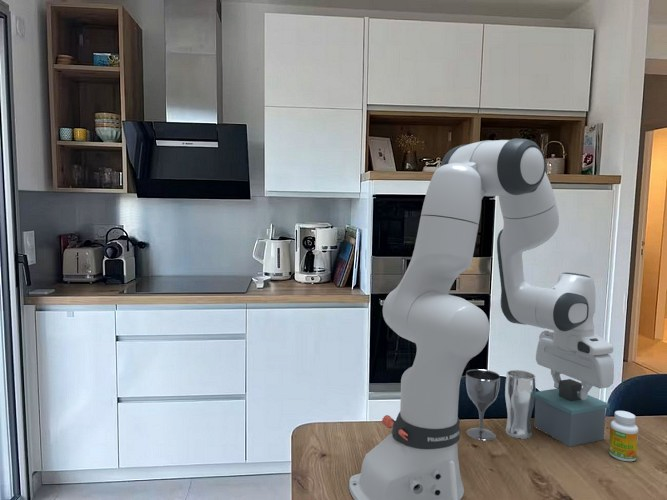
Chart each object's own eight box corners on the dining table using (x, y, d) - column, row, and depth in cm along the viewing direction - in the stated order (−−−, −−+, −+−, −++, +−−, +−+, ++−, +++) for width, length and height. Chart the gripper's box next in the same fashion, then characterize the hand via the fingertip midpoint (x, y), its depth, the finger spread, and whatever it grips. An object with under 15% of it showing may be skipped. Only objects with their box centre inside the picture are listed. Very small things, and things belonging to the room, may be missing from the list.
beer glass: (536, 441, 113) (539, 380, 112) (505, 438, 114) (508, 377, 113) (530, 428, 120) (532, 370, 119) (501, 426, 121) (503, 368, 120)
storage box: (569, 446, 110) (571, 413, 110) (534, 427, 121) (535, 396, 120) (603, 439, 114) (605, 407, 114) (566, 420, 125) (568, 391, 124)
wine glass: (460, 426, 121) (462, 368, 119) (492, 427, 120) (494, 369, 119) (468, 441, 113) (470, 379, 112) (502, 442, 112) (504, 380, 111)
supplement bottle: (609, 458, 105) (612, 416, 105) (607, 448, 110) (610, 407, 109) (638, 464, 103) (640, 421, 102) (634, 453, 108) (637, 412, 107)
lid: (571, 414, 109) (572, 393, 109) (532, 396, 120) (533, 376, 120) (609, 407, 114) (610, 387, 113) (568, 390, 125) (569, 371, 124)
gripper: (531, 329, 124) (528, 380, 125) (599, 350, 105) (596, 411, 106) (549, 327, 127) (547, 378, 128) (620, 348, 108) (616, 407, 109)
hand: (570, 393), depth 117 cm, fingers open, 5 cm apart
